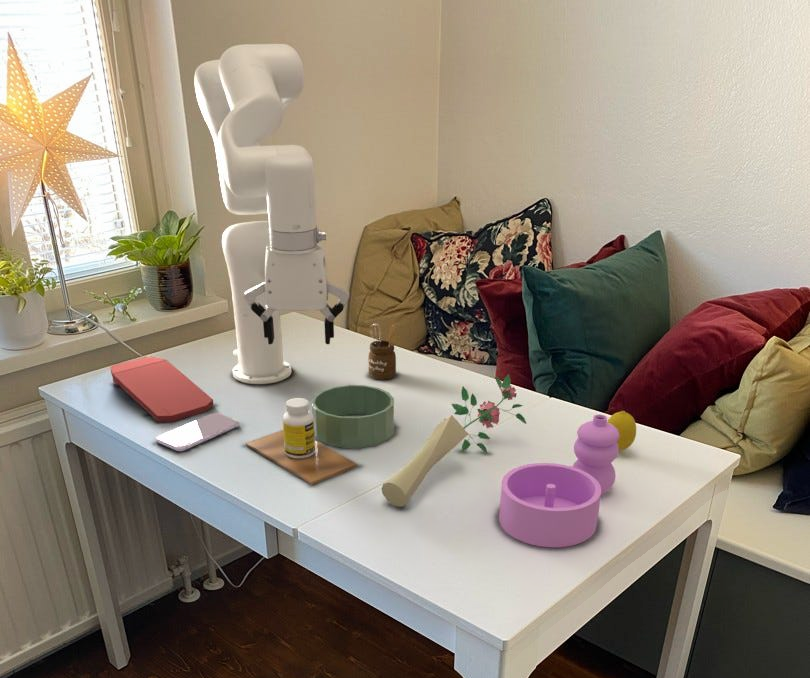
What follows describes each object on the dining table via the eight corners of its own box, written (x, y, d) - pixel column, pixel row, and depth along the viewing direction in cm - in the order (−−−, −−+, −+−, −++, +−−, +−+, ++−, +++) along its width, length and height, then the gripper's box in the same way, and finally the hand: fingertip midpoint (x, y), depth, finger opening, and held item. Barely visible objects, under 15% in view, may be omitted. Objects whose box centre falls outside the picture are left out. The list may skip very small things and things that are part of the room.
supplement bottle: (310, 461, 155) (307, 410, 150) (281, 458, 156) (277, 407, 150) (319, 447, 159) (316, 397, 154) (290, 444, 160) (286, 395, 155)
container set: (563, 558, 130) (573, 480, 123) (480, 524, 138) (484, 448, 131) (642, 495, 146) (654, 422, 139) (563, 467, 154) (571, 397, 147)
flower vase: (385, 534, 150) (483, 421, 170) (442, 538, 142) (538, 419, 162) (358, 477, 144) (463, 368, 164) (416, 479, 136) (519, 363, 156)
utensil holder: (379, 368, 194) (378, 314, 187) (402, 374, 190) (402, 320, 184) (362, 376, 190) (361, 322, 183) (386, 382, 186) (385, 328, 180)
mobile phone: (241, 420, 168) (179, 448, 158) (242, 425, 168) (180, 453, 158) (215, 410, 171) (152, 436, 162) (215, 415, 172) (153, 441, 162)
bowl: (297, 428, 167) (295, 399, 164) (359, 406, 176) (358, 378, 173) (347, 455, 158) (346, 425, 155) (410, 431, 167) (410, 402, 163)
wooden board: (246, 445, 161) (245, 442, 161) (290, 430, 167) (290, 427, 167) (311, 485, 149) (311, 482, 148) (357, 466, 154) (357, 463, 154)
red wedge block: (217, 423, 177) (156, 370, 191) (216, 402, 174) (155, 349, 188) (162, 440, 171) (104, 384, 184) (161, 418, 168) (101, 363, 181)
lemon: (613, 442, 163) (618, 402, 159) (638, 451, 160) (645, 411, 155) (595, 451, 160) (601, 411, 155) (621, 461, 156) (627, 420, 152)
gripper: (348, 233, 143) (351, 333, 153) (242, 232, 143) (251, 333, 152) (347, 245, 137) (349, 349, 147) (236, 245, 137) (246, 349, 146)
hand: (299, 341), depth 149 cm, fingers open, 9 cm apart
